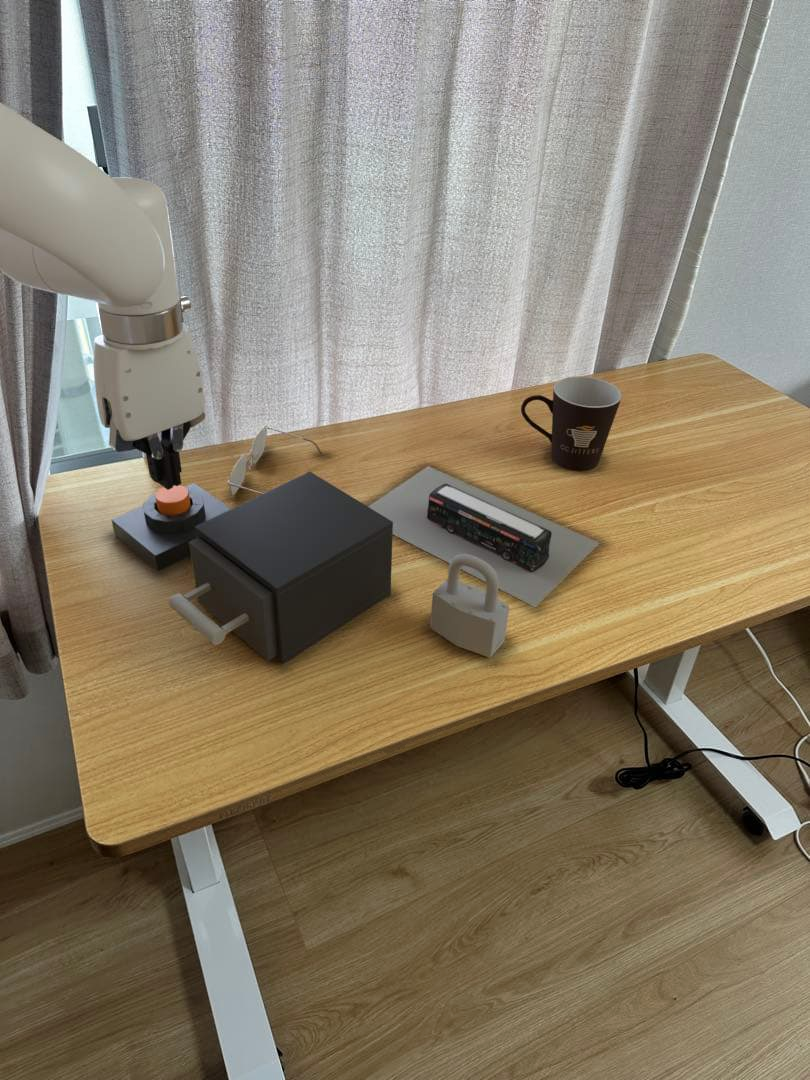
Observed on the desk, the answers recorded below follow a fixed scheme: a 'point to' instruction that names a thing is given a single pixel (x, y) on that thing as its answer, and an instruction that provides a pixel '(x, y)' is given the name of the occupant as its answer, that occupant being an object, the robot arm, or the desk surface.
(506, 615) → the padlock
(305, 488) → the dark grey cabinet
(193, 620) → the drawer
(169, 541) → the control block
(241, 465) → the eyeglasses
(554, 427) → the coffee mug
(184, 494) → the button
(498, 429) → the desk surface
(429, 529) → the grey desk mat
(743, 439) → the desk surface
